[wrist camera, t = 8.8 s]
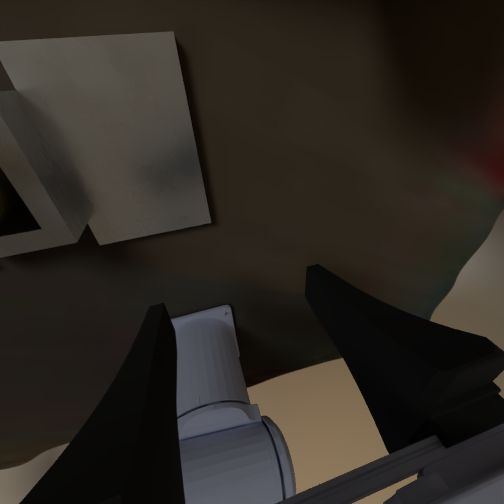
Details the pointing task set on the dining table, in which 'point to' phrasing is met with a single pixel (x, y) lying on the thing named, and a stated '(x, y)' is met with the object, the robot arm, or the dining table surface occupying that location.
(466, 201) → the dining table surface
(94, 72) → the hinge base
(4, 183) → the hinge pin
